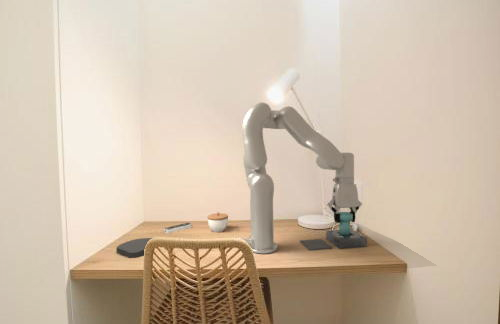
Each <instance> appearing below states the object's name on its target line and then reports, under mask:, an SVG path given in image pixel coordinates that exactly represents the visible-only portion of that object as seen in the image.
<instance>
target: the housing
mask: <svg viewBox="0 0 500 324" xmlns="http://www.w3.org/2000/svg"><path fill="white" fill-rule="evenodd" d="M325 235H326V238H325V239H326V240H327V241H328V242H330V243H331V244H332V245H334V246H335V247H337V248H338V249H340V250H342V249H355V248H356V249H357V248H366V247H368V237H367V236H366V235H364V234H361V233H360V232H357V231H356V230H353V229H352V228H350V235H349V236H343V235H341V234H339V229H329V230H328V229H327V230H326V231H325Z"/></svg>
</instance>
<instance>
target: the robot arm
mask: <svg viewBox="0 0 500 324" xmlns="http://www.w3.org/2000/svg"><path fill="white" fill-rule="evenodd" d="M264 129H271V130H274V129H275V130H286V132H287V133H288V134H289V135H290V136H291V137H292V138H293V139H294V140H295V141H296V143H297V144H299V145H300V146H302V147H304V148H306V149H309V150H311V151H312V152H314V153H315V154H316V155H317V157H316V161H315V163H316V165H317V167H319V168H320V169H322V170H327V171H328V170H331V171H332V170H333V171H335V177H334V178H332V181H333V182H334V184H333V189H332V194H331V195H332V196H331V200H329V202H327V204H326V205H327V206H328V208H329V209H330V210H331V211H332V213H333V220H334V222H335V223H338V224H339V223H340V214H339V212H340V210H341V209H347V208H349V210H350V211H349V212H350V213H352V214H353V220H352V221H351V222H352V223H355V222H356V214H357V212H358V210H359V208H360V207H362V205H363V203H362V202H361V201H360V200H359V193H358V188H357V184H356V183H355V155H354V153H353V152H341V151H340V150H339V149H338V147H336V146H335V144H334V143H332V141H330V140H329V139H328V138H326V137H325V136H323V135H322V134H321V133H320V132H317V131H316V130H314V128H313V127H312V126H311V125H310V124H309V123H308V122H307V121H306V119H304V117H303V116H302V115H301V114H300V113H299V112H298V111H297V110H296V109H295V108H294V107H292V106H285V107H282V108H281V109H279V110H274V109H273V110H272V109H271V106H270V105H269V104H268V103H265V102H258V103H256V104H254V105H253V106H252V107H251V108H250V109H249V110H248V111H247V113H246V114H245V116H244V118H243V121H242V125H241V135H242V136H241V137H242V143H243V149H244V154H243V157H242V158H243V161H242V162H243V166H244V172H245V177H246V181H247V185H248V188H249V189H250V199H249V200H250V202H249V204H250V206H249V207H250V208H249V211H250V235H249V237H247V238H242V239H243V240H245V241H246V242H247V243H248V244H249V245H250V246H251V248H252V250H253V252H252V253H253V254H254V253H255V254H270V253H274V252H275V251H277V250H278V243H276V242H275V240H274V239H275V238H274V237H275V236H274V235H275V234H274V233H275V231H274V230H275V229H274V193H275V183H274V180H273V178H272V177H271V176H270V175H269V173H267V168H266V165H267V163H268V156H267V150H266V145H265V140H264V135H263V133H264V132H263V130H264Z"/></svg>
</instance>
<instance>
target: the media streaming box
mask: <svg viewBox="0 0 500 324" xmlns="http://www.w3.org/2000/svg"><path fill="white" fill-rule="evenodd" d="M152 238H153V237H145V238H143V237H141V238H136V239H131V240H129V241H125V242H123V243H121V244H119V245H117V246H116V247H115V249H116V253H117V254H118V255H121V256H123V257H126V258H131V259H132V258H138V257H139V258H140V257H143V256H144V249H145V246H146V244H147V242H148V241H149V240H150V239H152Z"/></svg>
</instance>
